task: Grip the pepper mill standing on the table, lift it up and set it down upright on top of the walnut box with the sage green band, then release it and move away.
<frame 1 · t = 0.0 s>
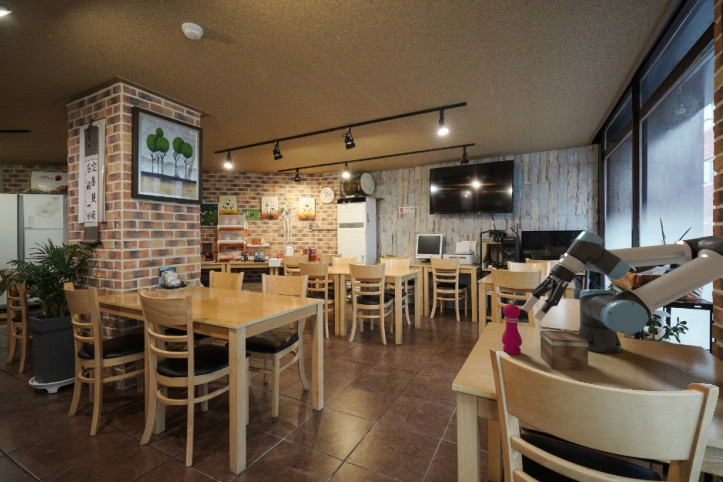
hand: (530, 314, 124), 15 cm above the table, tool tilted 35°, fingers open, 13 cm apart
pepper mill: (511, 352, 128), on the table
walnut box: (563, 363, 116), on the table
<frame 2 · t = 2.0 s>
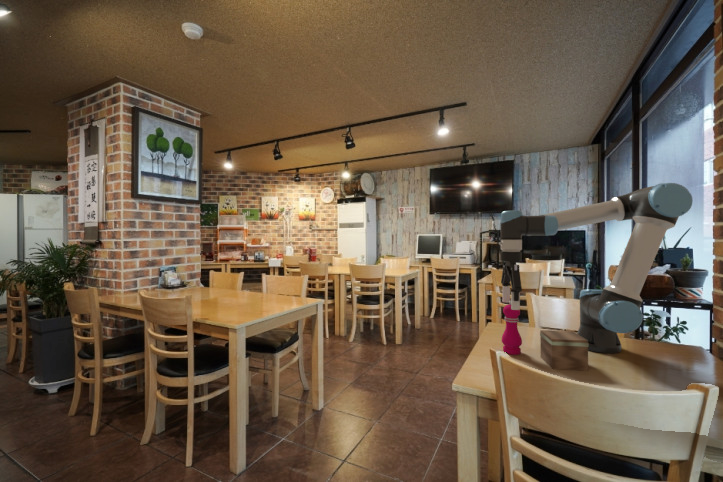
hand: (510, 305, 128), 18 cm above the table, tool pointing down, fingers open, 13 cm apart
nothing on the table moved.
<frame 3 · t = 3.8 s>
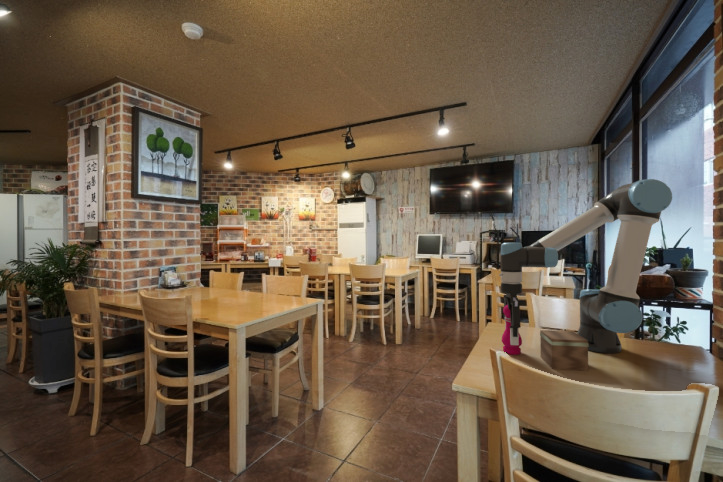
hand: (511, 341, 128), 4 cm above the table, tool pointing down, fingers closed on pepper mill, 7 cm apart
pepper mill: (511, 352, 128), on the table, touching gripper
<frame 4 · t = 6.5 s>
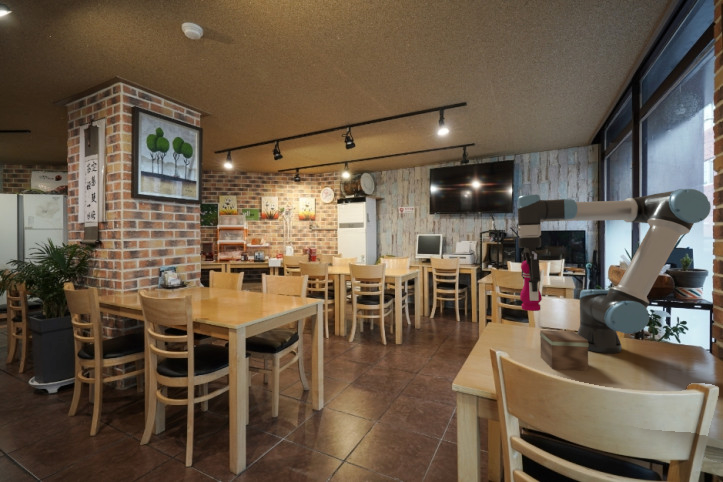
hand: (530, 298, 123), 22 cm above the table, tool pointing down, fingers closed on pepper mill, 7 cm apart
pepper mill: (531, 309, 123), point 17 cm above the table, touching gripper
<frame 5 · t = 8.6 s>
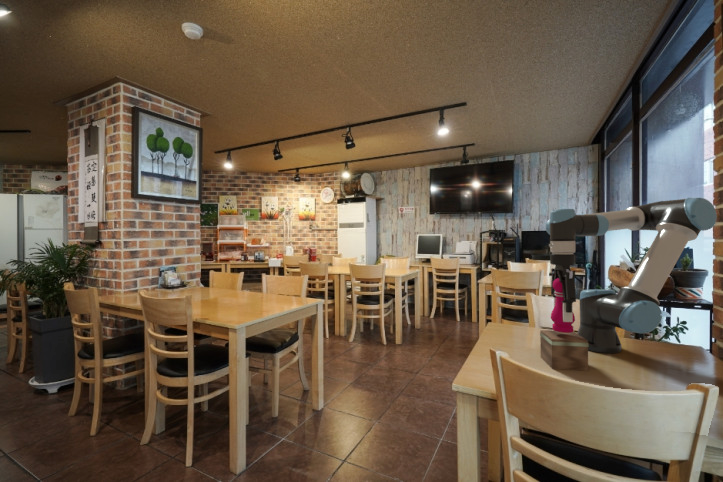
hand: (562, 318, 116), 16 cm above the table, tool pointing down, fingers closed on pepper mill, 7 cm apart
pepper mill: (562, 330, 116), point 11 cm above the table, touching gripper
when the fingers open (16 cm above the table, at t = 9.4 s): pepper mill drops 1 cm, resting on walnut box.
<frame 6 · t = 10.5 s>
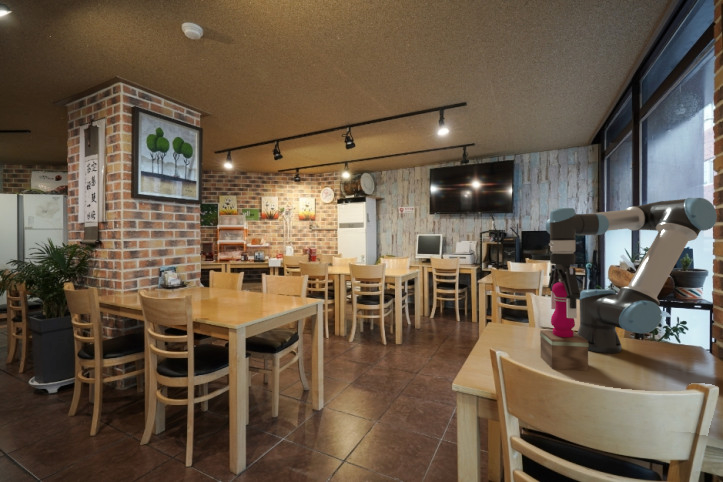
hand: (563, 313, 116), 18 cm above the table, tool pointing down, fingers open, 13 cm apart
pepper mill: (562, 335, 116), point 10 cm above the table, touching walnut box
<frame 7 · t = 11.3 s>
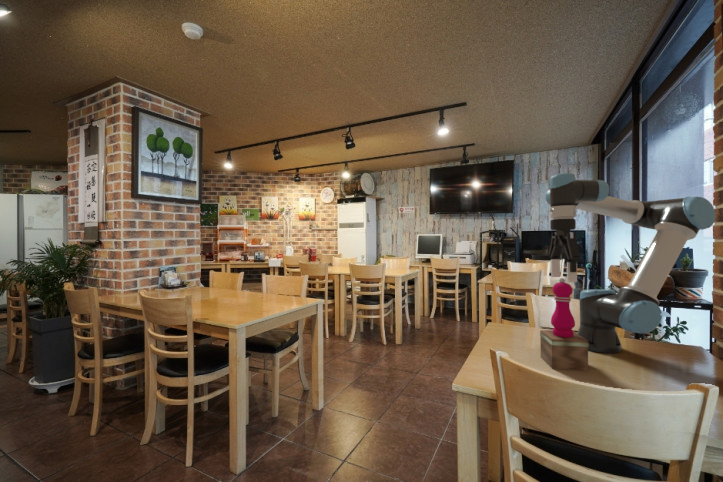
hand: (563, 279, 116), 30 cm above the table, tool pointing down, fingers open, 13 cm apart
nothing on the table moved.
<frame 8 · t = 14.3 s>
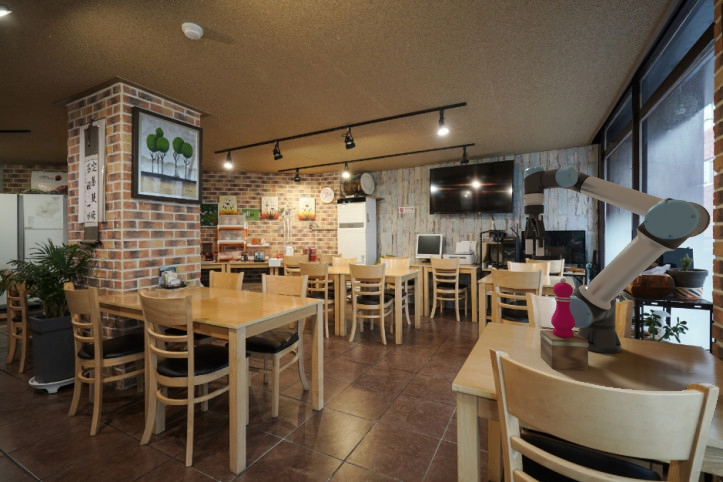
hand: (534, 255, 140), 37 cm above the table, tool pointing down, fingers open, 13 cm apart
nothing on the table moved.
at the end: pepper mill 0.0 cm off-centre on the walnut box, point 9.8 cm above the walnut box's base; pepper mill tilted 0°; the gripper is holding nothing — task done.
